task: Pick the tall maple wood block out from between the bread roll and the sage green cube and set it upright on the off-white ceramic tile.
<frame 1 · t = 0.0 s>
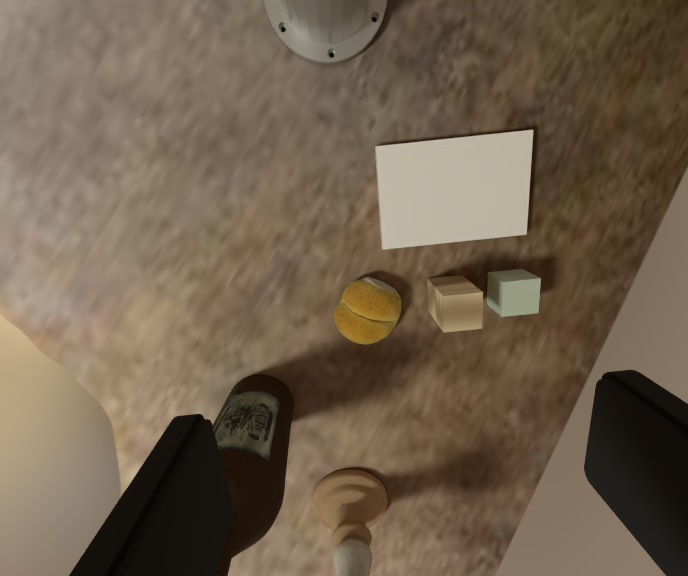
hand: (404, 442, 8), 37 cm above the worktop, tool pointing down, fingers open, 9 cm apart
sage cube: (503, 286, 47), on the worktop
candle holder: (349, 496, 57), on the worktop
ceramic tile: (451, 191, 42), on the worktop
maple block: (444, 292, 47), on the worktop
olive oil: (262, 400, 51), on the worktop
bread roll: (366, 306, 47), on the worktop
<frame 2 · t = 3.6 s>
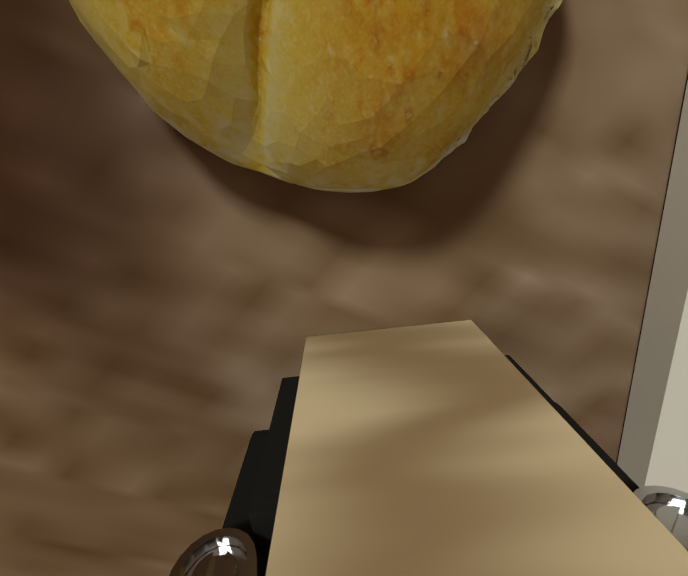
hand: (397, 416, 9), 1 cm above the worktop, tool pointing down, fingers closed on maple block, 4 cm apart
maple block: (393, 398, 10), on the worktop, touching gripper
when the fingers open (3 cm above the worktop, at t = 9.6 s): maple block drops 2 cm, resting on ceramic tile.
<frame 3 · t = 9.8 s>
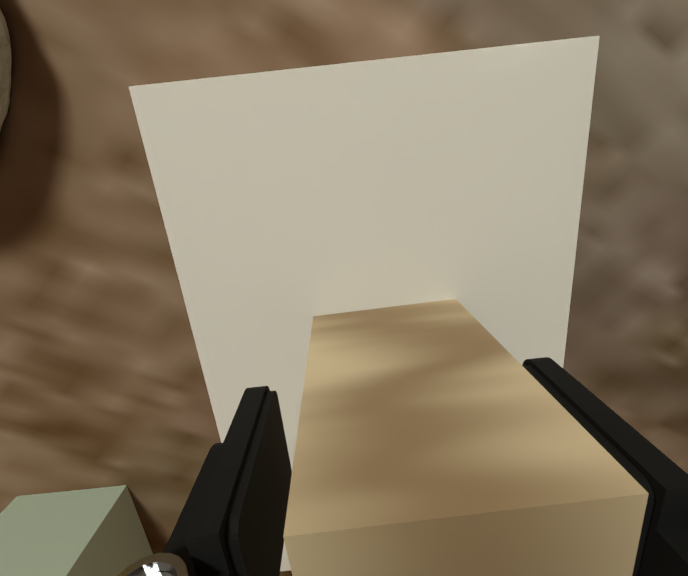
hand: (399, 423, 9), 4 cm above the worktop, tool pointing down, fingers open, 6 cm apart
sage cube: (91, 529, 15), on the worktop
ceramic tile: (381, 355, 13), on the worktop
maple block: (389, 369, 12), point 1 cm above the worktop, touching ceramic tile
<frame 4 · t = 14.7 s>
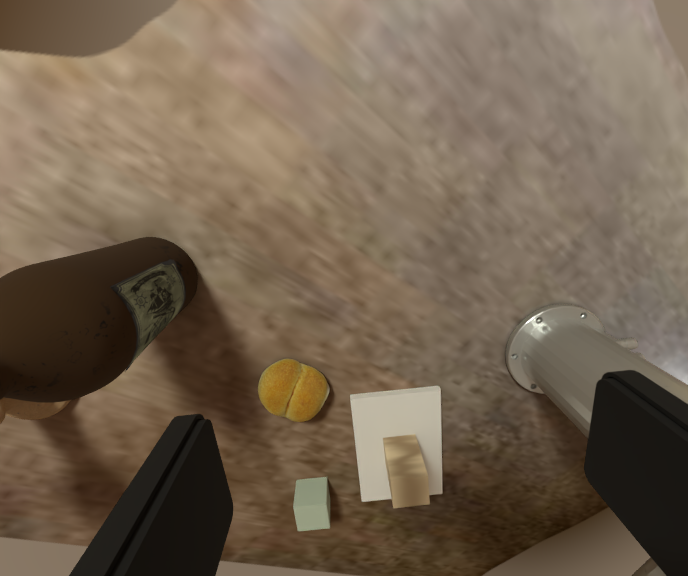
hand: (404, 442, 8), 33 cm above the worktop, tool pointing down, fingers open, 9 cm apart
sage cube: (313, 489, 52), on the worktop
candle holder: (28, 373, 45), on the worktop
ceramic tile: (397, 443, 50), on the worktop
maple block: (400, 449, 49), point 1 cm above the worktop, touching ceramic tile
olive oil: (159, 276, 41), on the worktop
bread roll: (295, 384, 47), on the worktop
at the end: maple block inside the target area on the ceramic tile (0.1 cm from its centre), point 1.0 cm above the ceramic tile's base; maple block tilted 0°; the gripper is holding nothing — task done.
